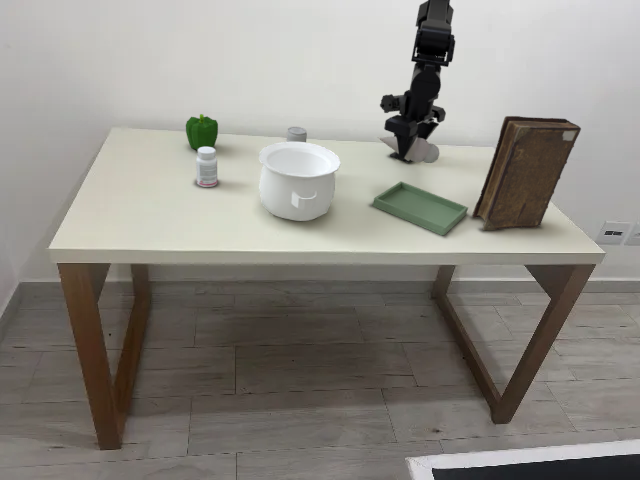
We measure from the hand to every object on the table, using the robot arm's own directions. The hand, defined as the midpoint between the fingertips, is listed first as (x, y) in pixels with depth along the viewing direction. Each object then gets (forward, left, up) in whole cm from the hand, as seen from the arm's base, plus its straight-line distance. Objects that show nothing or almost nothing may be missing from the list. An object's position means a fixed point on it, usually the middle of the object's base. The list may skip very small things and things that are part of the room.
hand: (408, 154), depth 116 cm
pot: (+23, -14, -11) cm, 30 cm away
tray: (+2, +7, -11) cm, 13 cm away
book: (-8, +25, -11) cm, 29 cm away
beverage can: (+10, -25, -11) cm, 30 cm away
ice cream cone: (+1, 0, -1) cm, 2 cm away
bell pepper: (+16, -52, -11) cm, 56 cm away
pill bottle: (+29, -36, -11) cm, 48 cm away
